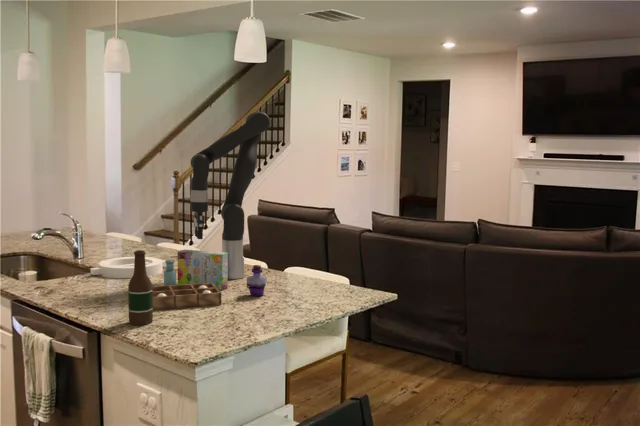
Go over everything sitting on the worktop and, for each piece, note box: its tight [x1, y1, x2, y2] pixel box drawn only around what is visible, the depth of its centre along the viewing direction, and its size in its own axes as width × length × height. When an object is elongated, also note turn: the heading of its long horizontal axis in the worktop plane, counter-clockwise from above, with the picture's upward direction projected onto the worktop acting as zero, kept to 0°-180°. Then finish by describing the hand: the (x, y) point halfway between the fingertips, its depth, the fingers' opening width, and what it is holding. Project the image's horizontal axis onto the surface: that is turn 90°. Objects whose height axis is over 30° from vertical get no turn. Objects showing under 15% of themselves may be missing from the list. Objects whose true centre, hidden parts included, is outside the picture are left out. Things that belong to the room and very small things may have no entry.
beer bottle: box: [127, 249, 154, 327], centre depth 196 cm, size 8×8×24 cm
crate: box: [152, 283, 222, 311], centre depth 225 cm, size 25×17×5 cm
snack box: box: [177, 249, 229, 291], centre depth 248 cm, size 21×6×15 cm, turn 71°
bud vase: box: [163, 259, 177, 286], centre depth 237 cm, size 5×5×13 cm
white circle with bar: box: [90, 256, 167, 279], centre depth 277 cm, size 28×28×5 cm
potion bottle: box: [246, 264, 268, 298], centre depth 236 cm, size 9×9×12 cm
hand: (198, 237), depth 261 cm, fingers open, 8 cm apart
